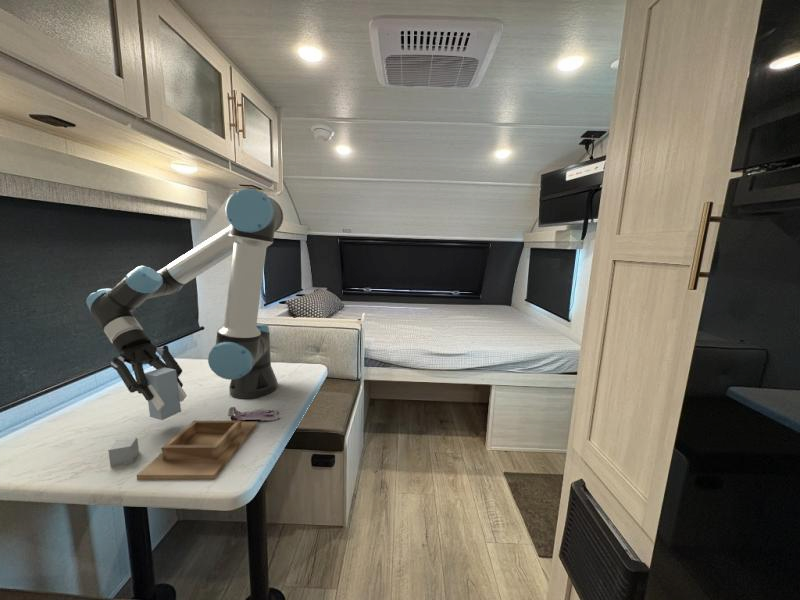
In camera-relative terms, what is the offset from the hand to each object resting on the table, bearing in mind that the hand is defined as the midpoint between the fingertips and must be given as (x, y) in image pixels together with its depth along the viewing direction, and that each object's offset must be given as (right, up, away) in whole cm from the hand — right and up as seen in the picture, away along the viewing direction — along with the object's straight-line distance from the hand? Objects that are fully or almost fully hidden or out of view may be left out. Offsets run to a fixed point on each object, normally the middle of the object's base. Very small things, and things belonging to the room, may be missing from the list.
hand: (172, 402), depth 87 cm
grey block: (-3, -9, -11) cm, 15 cm away
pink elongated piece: (+19, -7, +7) cm, 21 cm away
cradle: (+13, -9, -7) cm, 17 cm away
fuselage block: (-3, -4, +2) cm, 5 cm away
